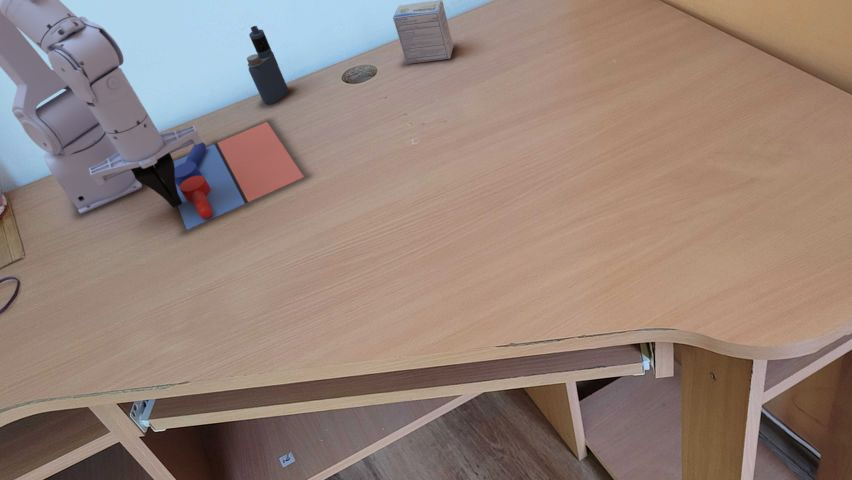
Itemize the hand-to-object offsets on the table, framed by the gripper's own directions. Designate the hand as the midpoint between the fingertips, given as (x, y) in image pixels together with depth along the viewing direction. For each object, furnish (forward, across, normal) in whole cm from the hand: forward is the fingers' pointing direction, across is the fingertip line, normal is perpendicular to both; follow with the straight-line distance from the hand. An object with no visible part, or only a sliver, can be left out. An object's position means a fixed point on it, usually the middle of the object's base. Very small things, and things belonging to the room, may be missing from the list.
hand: (176, 202), depth 102 cm
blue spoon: (+1, +4, +9) cm, 10 cm away
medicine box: (+1, +47, +13) cm, 49 cm away
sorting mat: (+1, +9, +4) cm, 9 cm away
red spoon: (+1, +3, -2) cm, 4 cm away
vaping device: (+1, +21, +21) cm, 29 cm away
